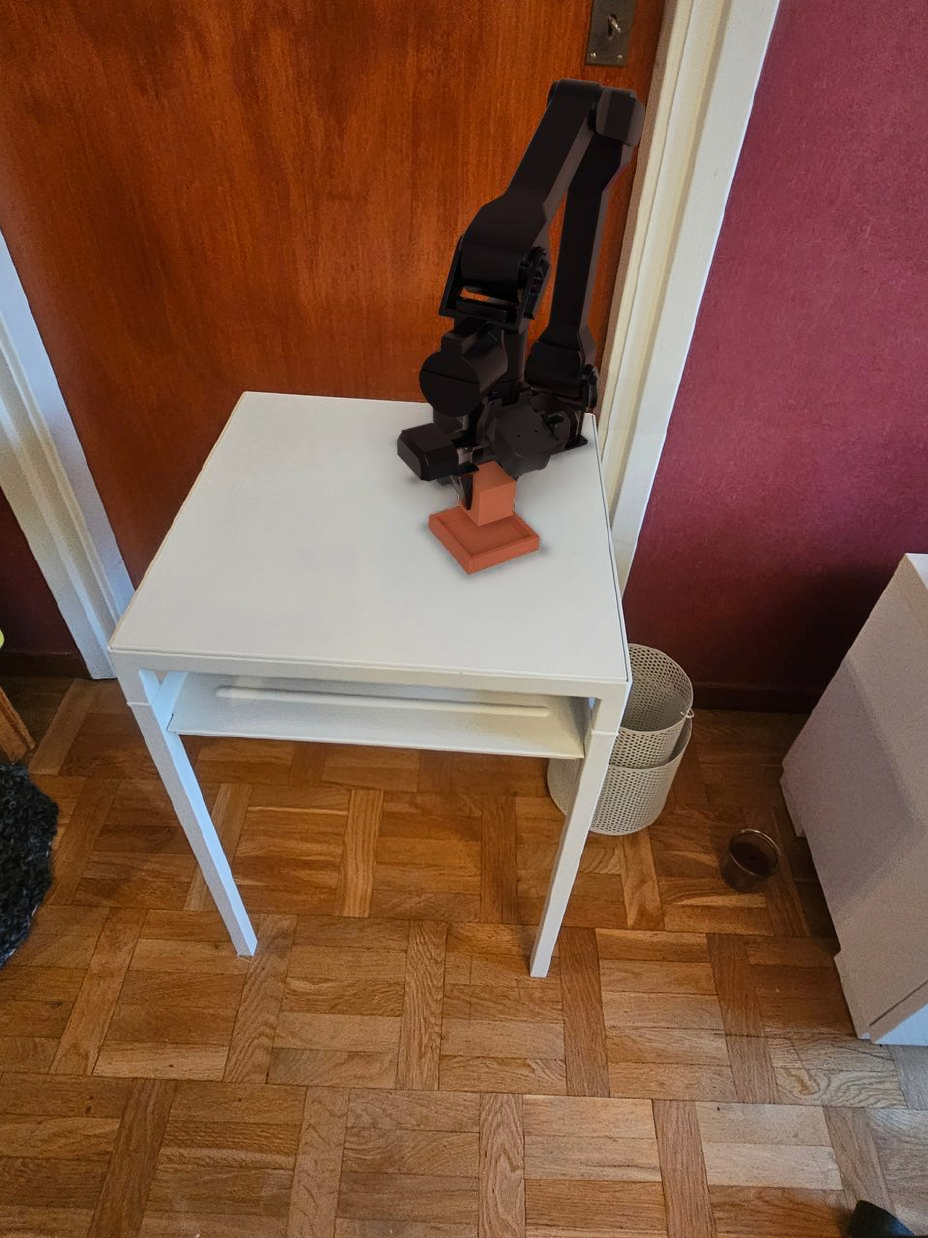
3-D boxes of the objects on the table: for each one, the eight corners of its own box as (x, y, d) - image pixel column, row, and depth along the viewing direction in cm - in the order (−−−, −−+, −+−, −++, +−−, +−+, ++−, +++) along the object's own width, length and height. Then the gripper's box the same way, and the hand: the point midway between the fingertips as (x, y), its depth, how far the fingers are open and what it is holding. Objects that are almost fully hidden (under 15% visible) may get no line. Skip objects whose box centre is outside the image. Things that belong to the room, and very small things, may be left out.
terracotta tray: (495, 506, 90) (496, 493, 89) (538, 549, 85) (540, 536, 83) (428, 528, 87) (428, 515, 85) (468, 574, 81) (469, 561, 80)
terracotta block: (491, 494, 85) (494, 460, 82) (513, 515, 82) (516, 481, 79) (457, 504, 83) (458, 470, 80) (478, 526, 81) (480, 492, 77)
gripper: (450, 431, 63) (447, 571, 74) (624, 384, 70) (597, 518, 81) (392, 375, 69) (396, 510, 80) (556, 337, 76) (539, 467, 87)
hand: (485, 502), depth 82 cm, fingers closed on terracotta block, 4 cm apart
